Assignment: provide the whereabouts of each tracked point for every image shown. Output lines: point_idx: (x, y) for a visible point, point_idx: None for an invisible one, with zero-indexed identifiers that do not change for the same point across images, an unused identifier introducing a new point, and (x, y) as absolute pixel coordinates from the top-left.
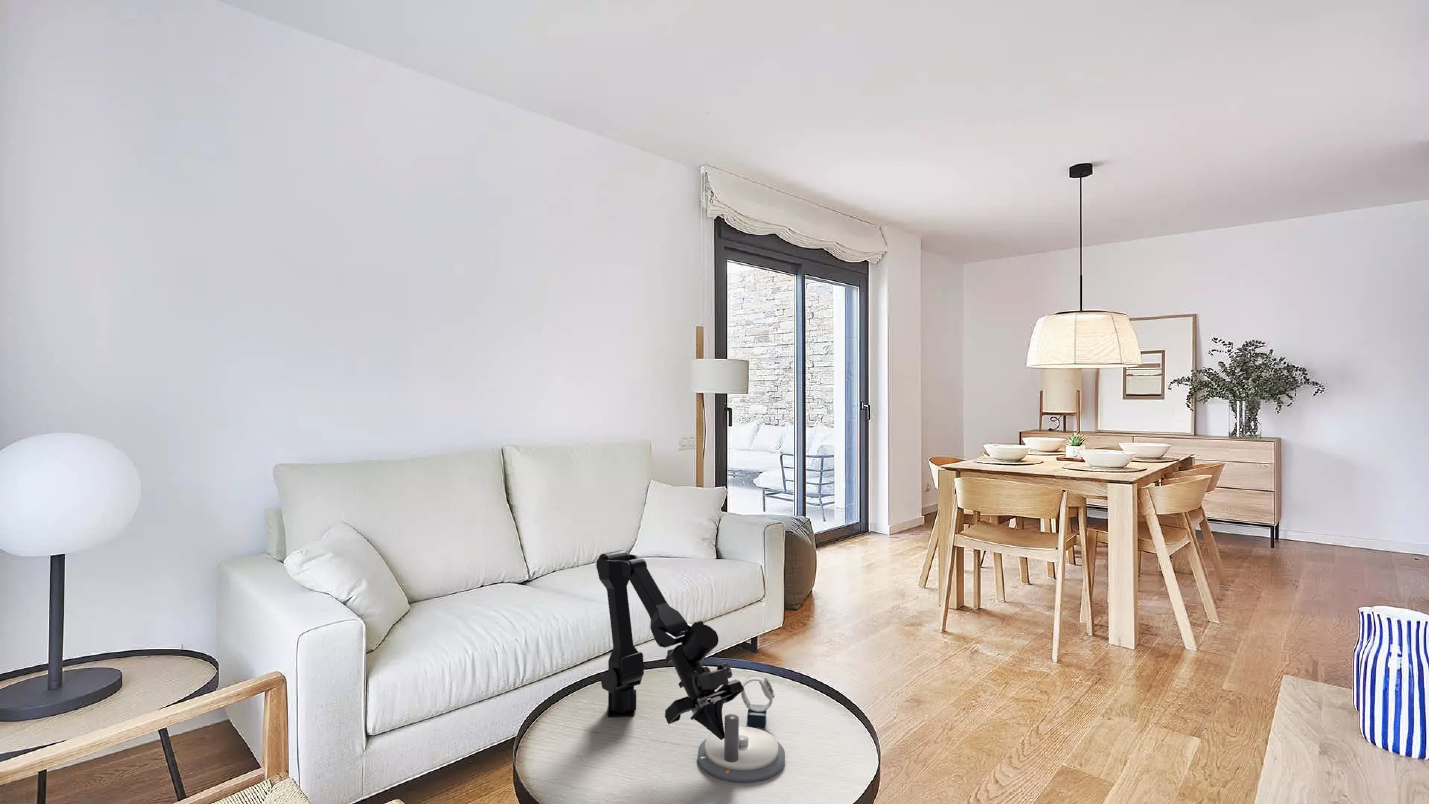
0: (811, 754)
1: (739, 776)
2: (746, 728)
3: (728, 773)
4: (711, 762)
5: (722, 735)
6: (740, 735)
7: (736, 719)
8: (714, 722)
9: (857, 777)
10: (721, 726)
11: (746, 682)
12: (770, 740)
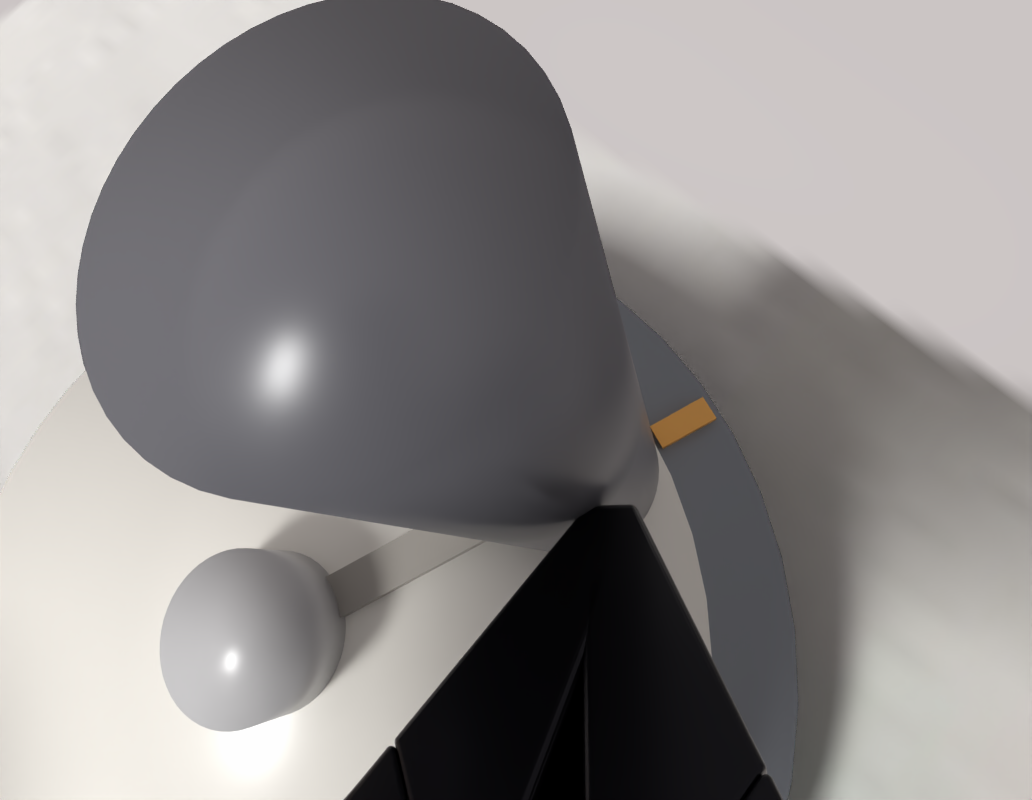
0: (4, 319)
1: (632, 314)
2: None
3: (696, 398)
4: None
5: (630, 521)
6: (186, 707)
7: (298, 29)
8: (754, 790)
9: (66, 8)
10: (543, 639)
11: None
12: (54, 482)
